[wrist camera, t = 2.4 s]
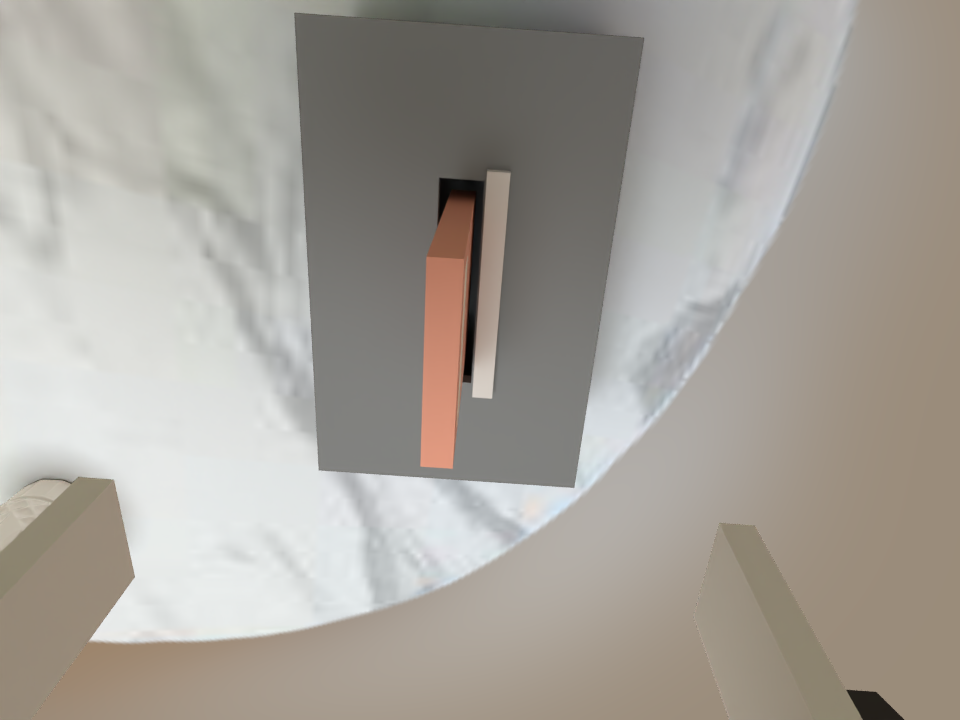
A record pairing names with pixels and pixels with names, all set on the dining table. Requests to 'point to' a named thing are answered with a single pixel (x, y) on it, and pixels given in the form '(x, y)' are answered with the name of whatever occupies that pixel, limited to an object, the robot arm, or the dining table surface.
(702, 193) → the dining table surface
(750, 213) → the dining table surface
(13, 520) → the white cup
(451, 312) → the ticket
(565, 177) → the dispenser
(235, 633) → the dining table surface
